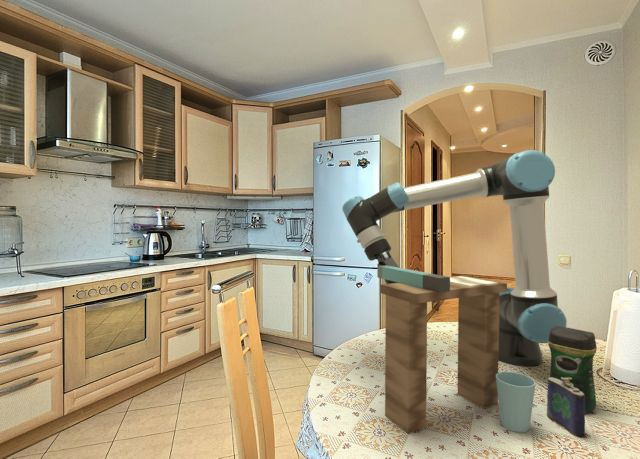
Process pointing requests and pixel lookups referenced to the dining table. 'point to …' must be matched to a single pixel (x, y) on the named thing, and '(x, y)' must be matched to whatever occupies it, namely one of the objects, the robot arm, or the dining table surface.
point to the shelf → (411, 346)
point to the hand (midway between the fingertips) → (410, 308)
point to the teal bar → (414, 278)
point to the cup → (515, 400)
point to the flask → (566, 405)
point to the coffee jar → (574, 360)
